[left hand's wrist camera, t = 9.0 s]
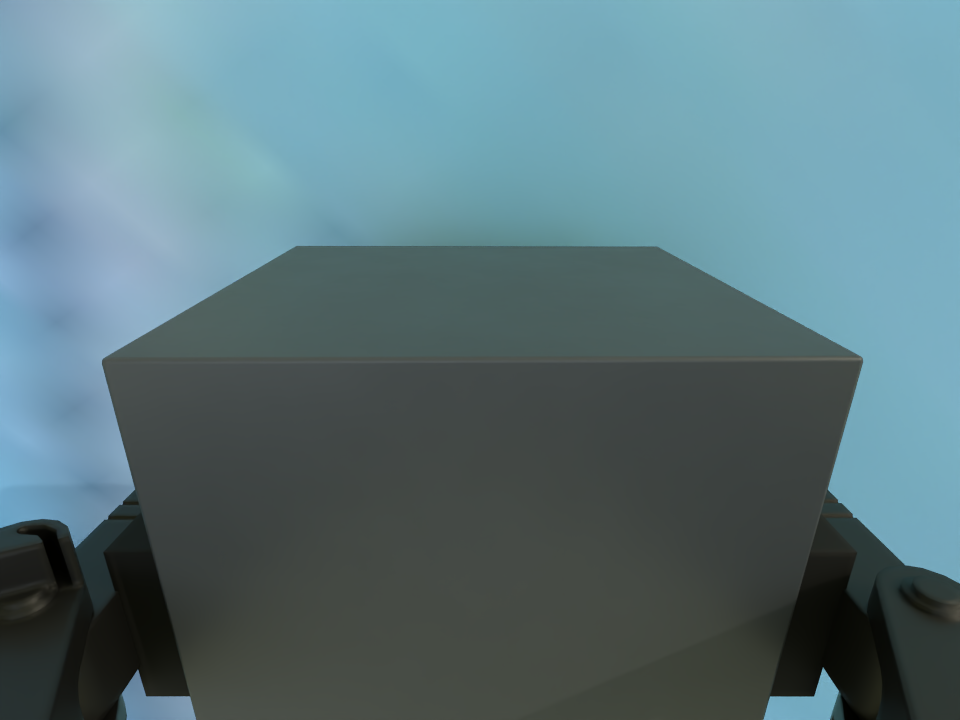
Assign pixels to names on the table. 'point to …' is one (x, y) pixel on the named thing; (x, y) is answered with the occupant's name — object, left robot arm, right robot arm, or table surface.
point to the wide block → (480, 484)
